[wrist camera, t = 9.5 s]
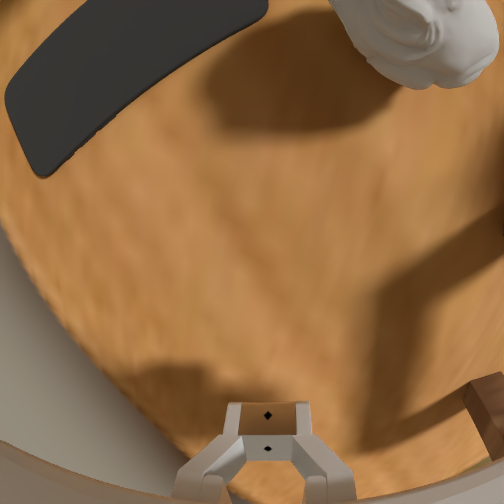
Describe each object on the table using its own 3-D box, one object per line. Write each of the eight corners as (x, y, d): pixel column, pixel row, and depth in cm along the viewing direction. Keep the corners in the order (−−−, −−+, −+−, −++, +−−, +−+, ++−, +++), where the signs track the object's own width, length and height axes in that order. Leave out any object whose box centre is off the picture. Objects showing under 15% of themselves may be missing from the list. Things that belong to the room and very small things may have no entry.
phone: (279, 10, 11) (39, 186, 14) (279, 17, 11) (48, 183, 15) (201, -74, 9) (0, 92, 12) (205, -66, 10) (8, 92, 13)
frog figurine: (311, -24, 10) (325, -116, 3) (446, 9, 9) (522, -41, 3) (306, 87, 12) (329, 33, 5) (450, 116, 11) (550, 111, 5)
